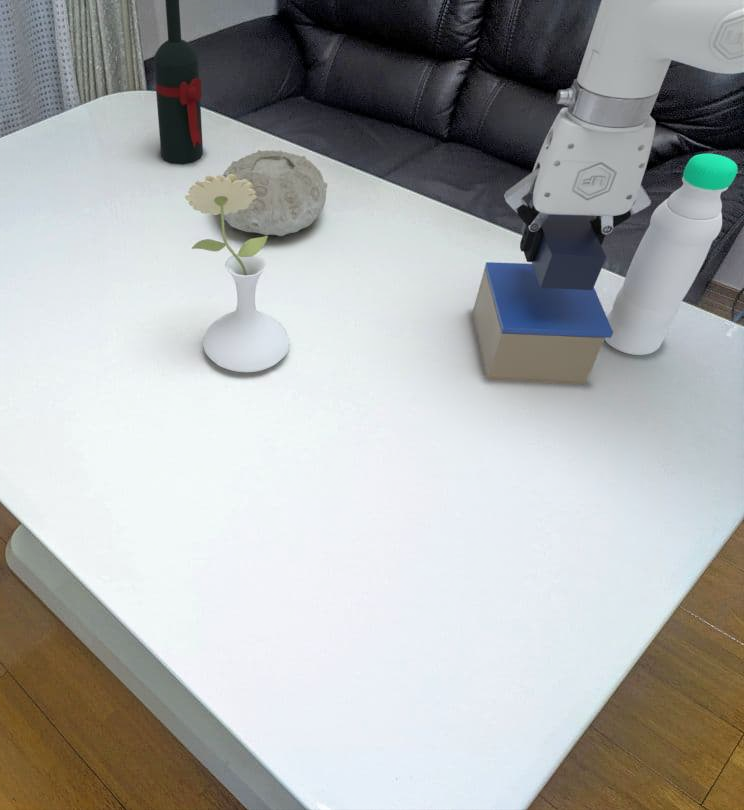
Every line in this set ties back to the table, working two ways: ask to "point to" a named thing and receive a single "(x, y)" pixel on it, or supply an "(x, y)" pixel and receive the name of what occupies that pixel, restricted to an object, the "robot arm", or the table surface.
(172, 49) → the wine bottle
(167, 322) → the table surface
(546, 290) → the container lid
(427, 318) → the table surface
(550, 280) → the case
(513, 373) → the container
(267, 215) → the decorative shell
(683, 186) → the water bottle
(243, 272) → the flower in vase
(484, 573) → the table surface
